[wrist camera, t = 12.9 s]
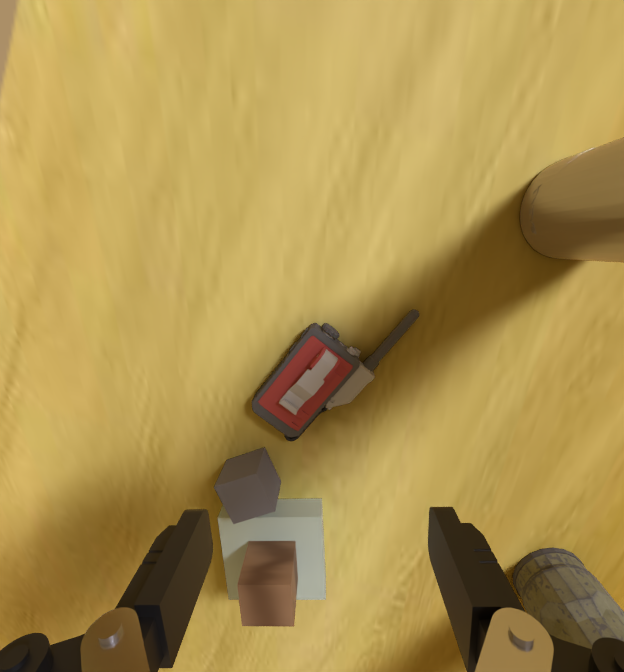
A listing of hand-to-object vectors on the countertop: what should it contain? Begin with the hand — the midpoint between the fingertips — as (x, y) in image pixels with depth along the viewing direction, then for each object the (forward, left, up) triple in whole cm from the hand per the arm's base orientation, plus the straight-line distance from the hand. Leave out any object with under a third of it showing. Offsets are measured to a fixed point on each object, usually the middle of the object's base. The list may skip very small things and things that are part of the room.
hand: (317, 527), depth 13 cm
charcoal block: (+9, +16, -26) cm, 32 cm away
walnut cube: (+7, +26, -23) cm, 35 cm away
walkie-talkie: (-1, +3, -27) cm, 27 cm away
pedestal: (+7, +26, -26) cm, 37 cm away
